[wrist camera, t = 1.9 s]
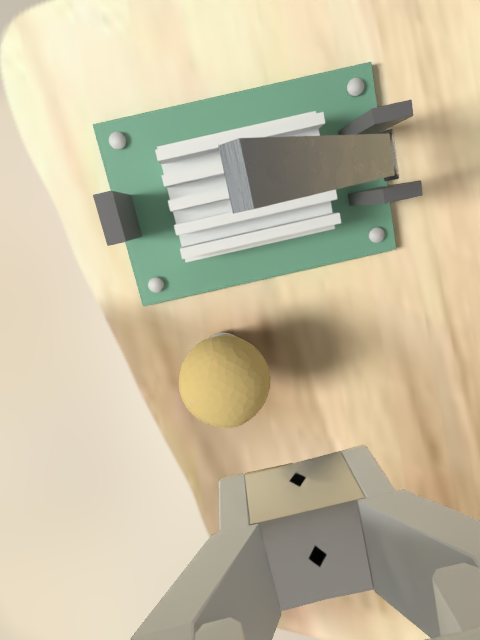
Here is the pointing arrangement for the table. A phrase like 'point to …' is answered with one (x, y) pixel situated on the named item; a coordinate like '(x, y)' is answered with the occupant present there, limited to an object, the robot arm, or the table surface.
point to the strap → (303, 166)
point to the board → (212, 194)
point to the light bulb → (224, 381)
